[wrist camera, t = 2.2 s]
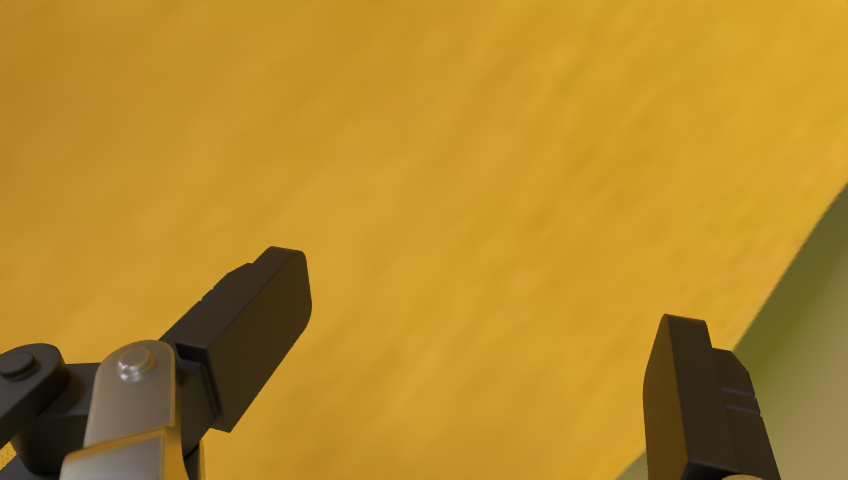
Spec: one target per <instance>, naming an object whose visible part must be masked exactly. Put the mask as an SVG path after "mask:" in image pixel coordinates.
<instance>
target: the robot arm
mask: <svg viewBox="0 0 848 480" xmlns="http://www.w3.org/2000/svg"><path fill="white" fill-rule="evenodd" d="M311 310H312V300H311V292H310V285H309V277H308V269H307V262H306V257H305V254H304V253H303V252H302V251H298V250H292V249H286V248H281V247H275V246H271V247H269V248H268V249H266V250H265V251H264V252H263V253H262V254H261V255H260V256H259V257H258V258H257V259H256V260H255V261H254V262H253V263H252V264H251V263H246V264H244V265H243V266H241V267H239V268H237V269H235V270H233V271H231V272H229V273H227V274H226V275H225V276H224V277H223V278H222V279H221V280H220V281H219V282H218V283H217V284H216V285H215V286H214V288H213V290H210V291H209V292H208V293H207V294H206V295H205V296H203V297H202V301H198V302H197V303H196V304H195V305H194V306H193V307H192V308H191V309H190V310H189V311H188V312H187V313H186V314H185V315H184V316H183V317H182V318H181V319H179V320H178V321H177V322H176V323H175V324H174V325H173V326H172V327H171V328H170V329H169V330H168V331H167V332H166V333H165V334H164V335H163V336H162V337H161V338H160V339H159V340H144V341H138V342H134V343H131V344H128V345H126V346H123V347H121V348H119V349H117V350H116V351H114V352H113V353H111V354H110V355H109V356H107V357H106V358H105V359H104V360H103V361H102V363H80V364H65V362H64V360H63V358H62V356H61V353H60V351H59V349H57V348H56V347H55V346H53V345H50V344H44V343H36V344H29V345H24V346H20V347H17V348H14V349H12V350H9V351H7V352H5V353H3V354H1V355H0V450H1V449H2V448H3V447H4V446H5V445H6V444H7V443H8V442H9V441H10V443H11V445H12V446H13V448H14V450H15V451H16V453H17V455H16V456H15V457H14V458H13V459H12V460H11V461H10V462H9V463H8V464H7V465H6V466H5V467H4V468H3V469H2V470H1V471H0V480H205V459H204V445H203V441H202V437H203V436H204V435H205V433H206V432H207V431H208V429H209V428H213V429H217V430H221V431H225V432H228V433H230V432H231V431H232V429H233V428H234V427H235V425H236V424H237V422H238V421H239V420H240V418H241V417H242V415H243V414H244V413H245V411H246V410H247V409H248V407H249V406H250V404H251V403H252V402H253V400H254V399H255V397H256V396H257V395H258V393H259V392H260V391H261V389H262V388H263V386H264V385H265V384H266V382H267V381H268V379H269V378H270V377H271V375H272V374H273V373H274V371H275V370H276V368H277V367H278V366H279V364H280V363H281V361H282V360H283V359H284V357H285V356H286V354H287V353H288V352H289V350H290V349H291V348H292V346H293V345H294V343H295V342H296V341H297V339H298V338H299V336H300V335H301V334H302V332H303V331H304V330H305V328H306V326H307V324H308V322H309V319H310V316H311ZM643 408H644V423H645V437H646V451H647V465H648V479H649V480H781V478H780V475H779V472H778V468H777V465H776V462H775V459H774V455H773V452H772V448H771V445H770V442H769V439H768V435H767V432H766V429H765V425H764V422H763V419H762V417H760V409H759V406H758V402H757V399H756V398H755V392H754V389H753V386H752V382H751V379H750V376H749V373H748V371H747V370H746V369H745V367H744V366H743V365H742V364H741V363H740V361H739V360H738V359H737V358H736V357H735V356H734V354H733V353H732V352H731V351H728V350H722V349H717V348H712V345H711V341H710V337H709V333H708V328H707V325H706V322H705V321H704V320H698V319H692V318H686V317H680V316H675V315H669V314H664V315H663V317H662V319H661V321H660V324H659V328H658V331H657V334H656V338H655V341H654V344H653V348H652V351H651V354H650V358H649V361H648V364H647V368H646V372H645V377H644V384H643Z"/></svg>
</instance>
